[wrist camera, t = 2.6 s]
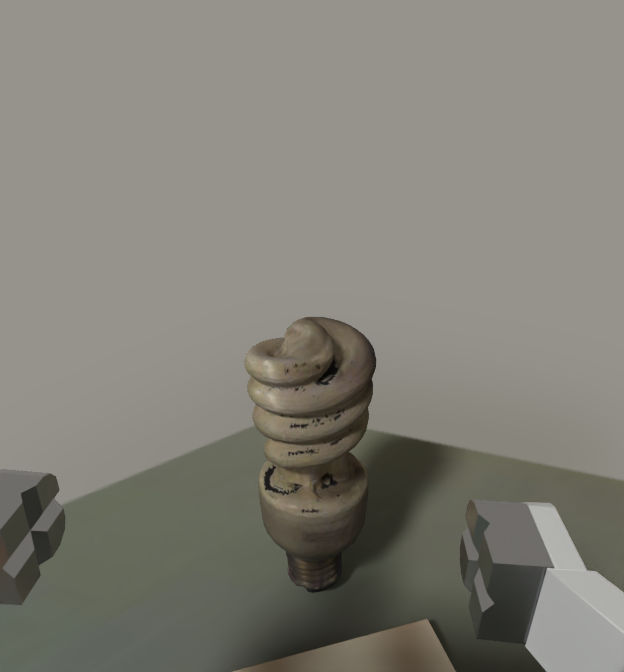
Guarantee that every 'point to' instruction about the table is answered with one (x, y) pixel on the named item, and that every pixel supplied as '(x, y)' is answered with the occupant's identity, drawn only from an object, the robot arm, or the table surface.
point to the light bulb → (312, 442)
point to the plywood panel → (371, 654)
